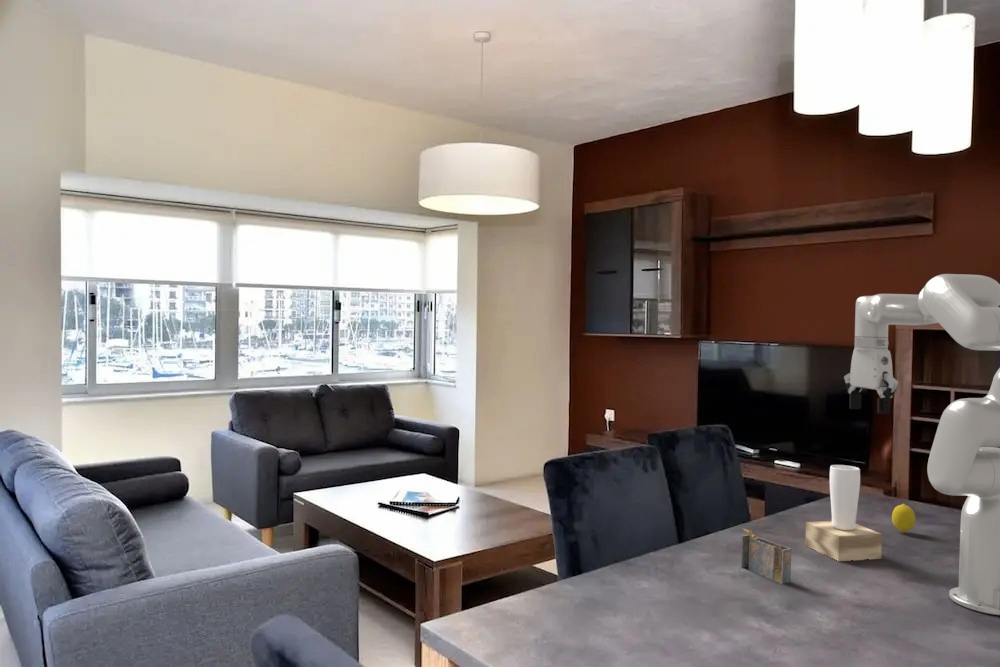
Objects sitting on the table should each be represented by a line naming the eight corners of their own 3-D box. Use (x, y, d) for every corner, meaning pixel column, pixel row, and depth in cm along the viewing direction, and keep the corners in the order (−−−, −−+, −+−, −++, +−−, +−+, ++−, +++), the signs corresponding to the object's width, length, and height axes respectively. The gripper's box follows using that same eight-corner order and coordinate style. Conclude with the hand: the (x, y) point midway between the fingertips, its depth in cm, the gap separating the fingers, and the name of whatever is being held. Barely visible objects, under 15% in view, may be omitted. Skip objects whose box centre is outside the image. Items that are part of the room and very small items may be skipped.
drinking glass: (862, 532, 169) (864, 470, 169) (833, 530, 170) (834, 469, 170) (853, 525, 176) (855, 465, 176) (824, 523, 177) (826, 464, 177)
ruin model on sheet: (739, 569, 160) (740, 527, 160) (748, 567, 162) (750, 525, 161) (780, 586, 150) (782, 540, 150) (790, 584, 152) (791, 539, 151)
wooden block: (881, 558, 169) (882, 533, 169) (838, 561, 166) (839, 536, 166) (846, 543, 180) (846, 520, 180) (805, 545, 178) (805, 522, 178)
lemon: (886, 531, 193) (887, 502, 193) (900, 529, 195) (901, 500, 195) (905, 536, 188) (906, 507, 188) (919, 534, 190) (920, 505, 190)
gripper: (910, 345, 171) (908, 415, 172) (859, 343, 188) (857, 407, 188) (884, 345, 170) (882, 415, 170) (834, 343, 187) (832, 407, 187)
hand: (869, 411), depth 179 cm, fingers open, 9 cm apart
